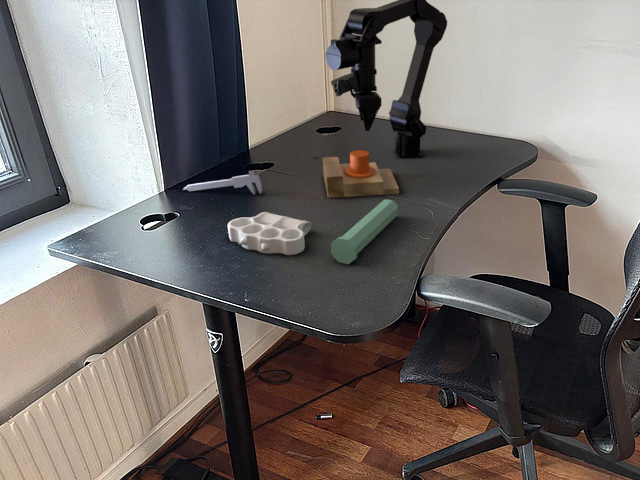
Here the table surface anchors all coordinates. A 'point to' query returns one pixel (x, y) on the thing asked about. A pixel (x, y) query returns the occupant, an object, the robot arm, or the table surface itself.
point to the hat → (359, 165)
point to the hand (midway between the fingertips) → (365, 125)
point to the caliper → (230, 183)
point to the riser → (356, 181)
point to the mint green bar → (363, 232)
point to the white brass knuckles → (269, 233)
